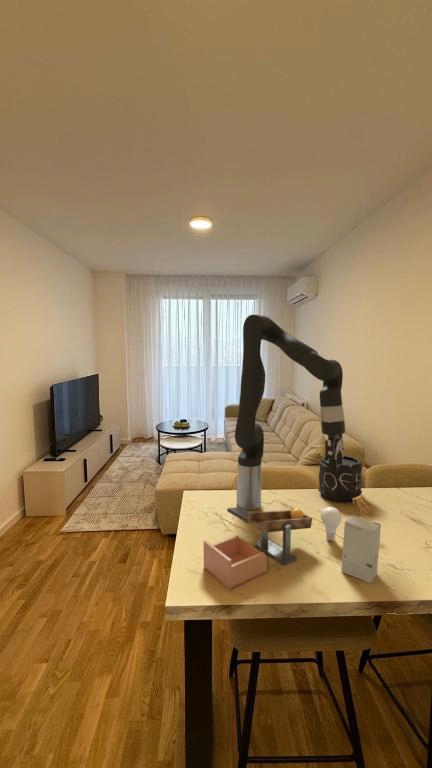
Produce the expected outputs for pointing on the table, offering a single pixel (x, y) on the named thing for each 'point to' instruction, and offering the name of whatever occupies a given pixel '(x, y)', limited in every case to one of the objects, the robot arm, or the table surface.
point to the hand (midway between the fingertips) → (336, 467)
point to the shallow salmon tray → (234, 561)
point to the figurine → (361, 506)
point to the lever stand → (278, 547)
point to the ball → (296, 513)
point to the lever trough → (271, 519)
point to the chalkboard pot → (341, 480)
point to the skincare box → (361, 548)
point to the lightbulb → (330, 521)
